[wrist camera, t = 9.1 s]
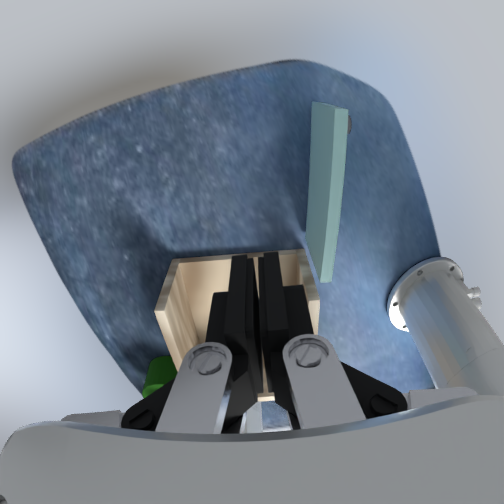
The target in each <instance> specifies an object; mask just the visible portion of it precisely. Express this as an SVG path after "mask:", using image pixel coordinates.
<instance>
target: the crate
mask: <svg viewBox="0 0 504 504" xmlns="http://www.w3.org/2000/svg"><path fill="white" fill-rule="evenodd" d="M268 252H275V251H268ZM263 253H265V252H255V253H242V254H230V255H217V256H204V257H192V258H179V259H172V261H171V264H170V267H169V270H168V272H167V275H166V278H165V281H164V284H163V287H162V290H161V292H160V295H159V298H158V301H157V304H156V307H155V310H154V312H155V315H156V317H157V320H158V323H159V326H160V328H161V331H162V334H163V336H164V339H165V341H166V344H167V347H168V349H169V352H170V354H171V357H172V359H173V362H174V364H175V367H176V369H177V371H179V368H180V366H181V363H182V361H183V358H184V356H185V355H186V353H187V352H188V351H189V350H190V349H191V348H193V347H195V346H196V345H198V344H202V343H205V339H206V333H207V326H208V320H209V314H210V308H211V302H212V296H213V293H214V292H226V291H228V287H229V278H230V269H231V259H232V256H235V255H245V254H247V256H248V258H253V259H254V266H255V274H256V281H257V289H258V296H259V282H258V257H264V255H263ZM278 253H279V260H280V267H281V275H282V282H283V286H291V285H301V284H303V286H304V290H305V294H306V299H307V303H308V308H309V313H310V317H311V322H312V327H313V331H314V335H317V333H318V320H319V307H320V298H319V295H318V292H317V288H316V285H315V282H314V278H313V275H312V272H311V269H310V265H309V262H308V259H307V256H306V253H305V250H304V249H293V250H280V251H278ZM262 354H263V351H262ZM263 389H264V392H263V393H259V394H258V401H272V400H275V397H274V392H272V393H268V386H267V379H266V372H265V365H264V358H263Z"/></svg>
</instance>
